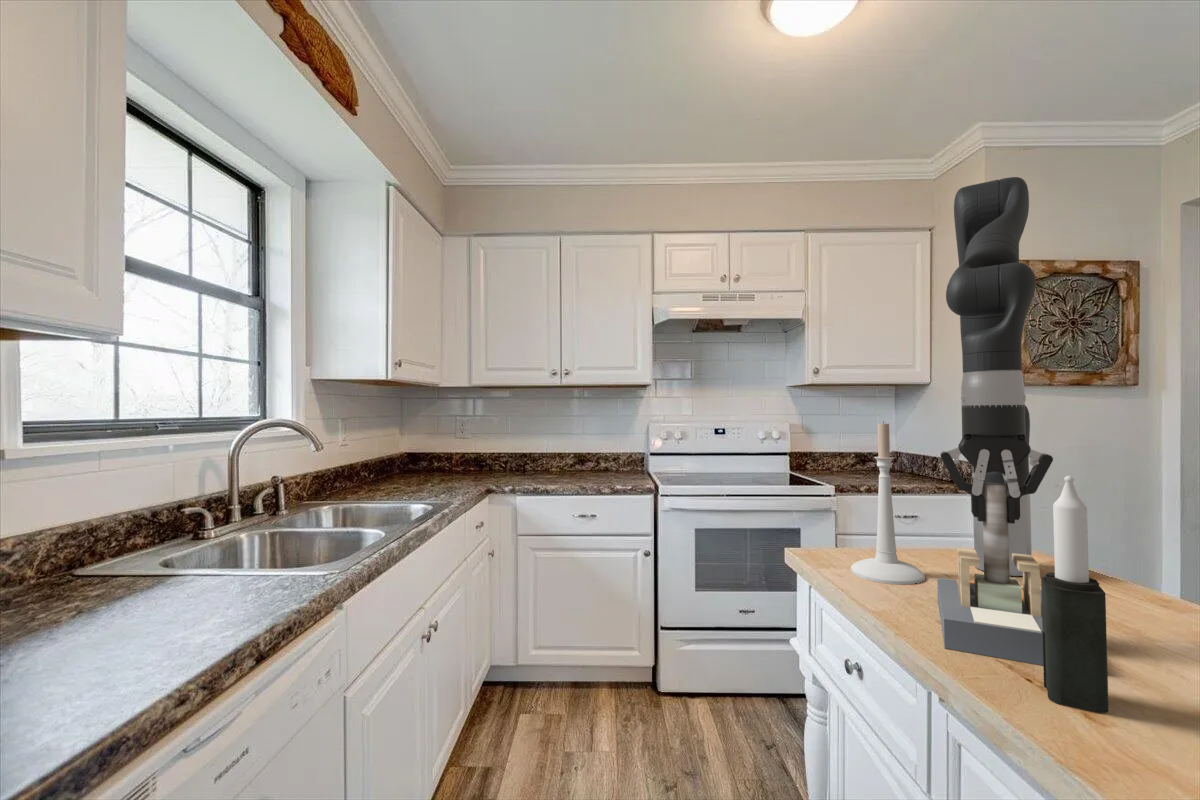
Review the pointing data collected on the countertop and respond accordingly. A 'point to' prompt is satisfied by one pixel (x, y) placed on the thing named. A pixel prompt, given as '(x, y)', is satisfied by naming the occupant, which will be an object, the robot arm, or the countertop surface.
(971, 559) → the wooden brackets
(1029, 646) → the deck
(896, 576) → the candlestick
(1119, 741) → the countertop surface
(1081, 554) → the candle
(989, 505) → the post on square base
